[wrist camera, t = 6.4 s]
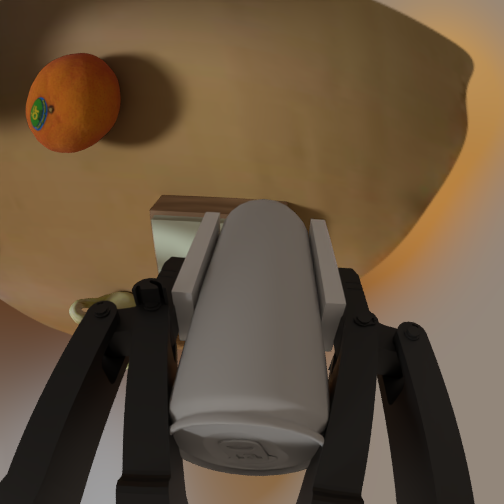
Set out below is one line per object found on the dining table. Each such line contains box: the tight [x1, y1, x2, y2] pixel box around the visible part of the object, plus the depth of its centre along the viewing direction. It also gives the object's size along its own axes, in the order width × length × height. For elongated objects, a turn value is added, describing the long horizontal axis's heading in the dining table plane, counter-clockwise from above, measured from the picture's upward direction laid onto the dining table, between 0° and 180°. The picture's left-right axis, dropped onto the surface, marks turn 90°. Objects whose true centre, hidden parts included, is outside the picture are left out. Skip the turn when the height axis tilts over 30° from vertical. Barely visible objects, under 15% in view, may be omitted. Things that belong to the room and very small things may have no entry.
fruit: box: [26, 53, 121, 153], centre depth 25 cm, size 11×10×8 cm
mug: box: [69, 292, 136, 370], centre depth 41 cm, size 12×10×10 cm
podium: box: [150, 195, 288, 273], centre depth 35 cm, size 14×14×5 cm
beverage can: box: [168, 199, 330, 476], centre depth 12 cm, size 5×5×12 cm
